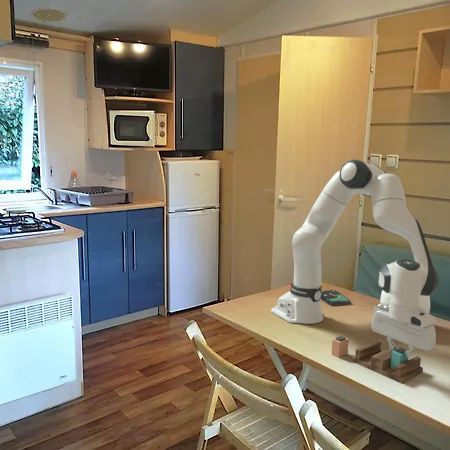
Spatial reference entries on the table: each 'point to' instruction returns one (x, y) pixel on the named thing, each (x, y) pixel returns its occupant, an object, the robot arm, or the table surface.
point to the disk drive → (334, 298)
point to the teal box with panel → (398, 357)
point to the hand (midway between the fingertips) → (400, 353)
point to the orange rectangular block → (340, 346)
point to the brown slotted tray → (386, 363)
